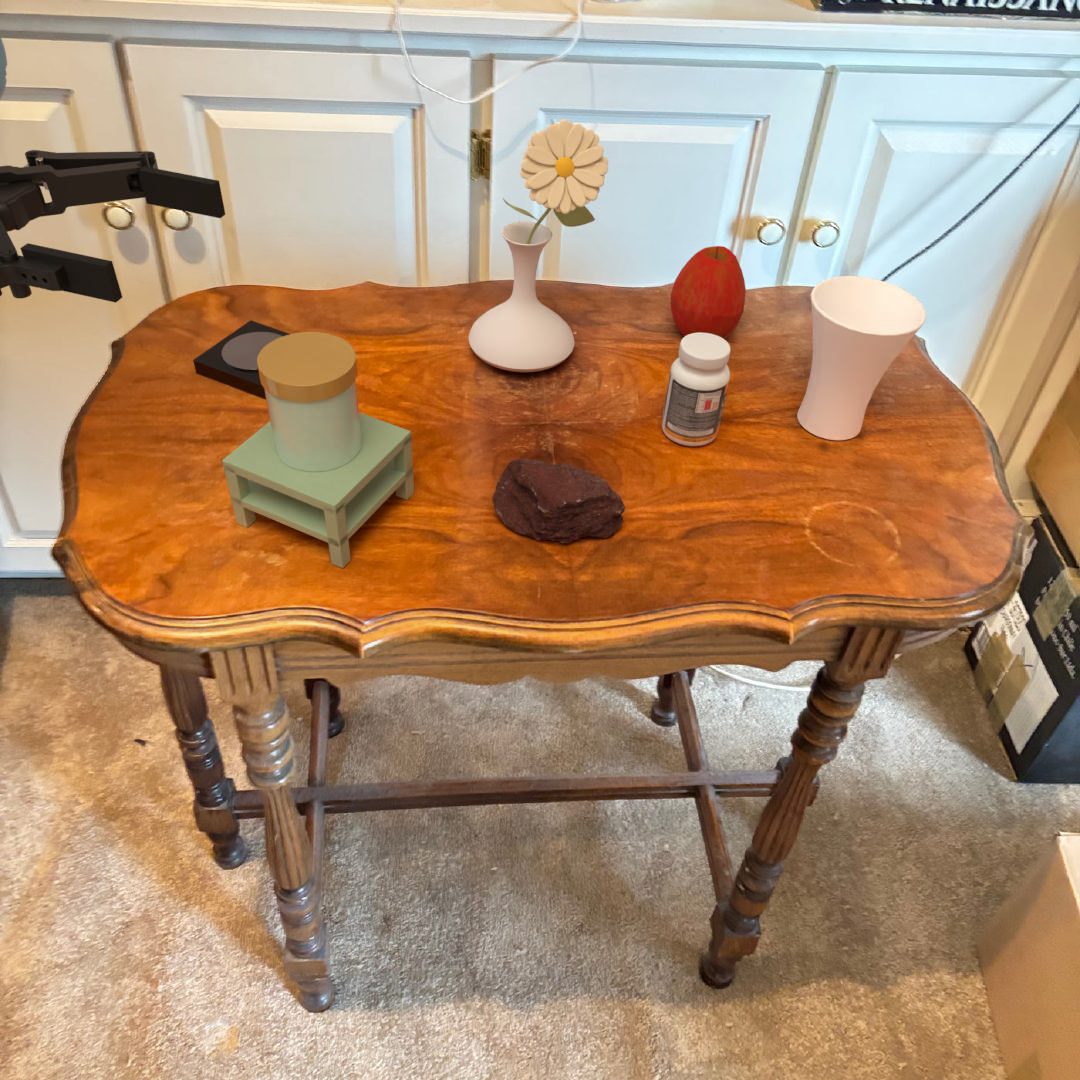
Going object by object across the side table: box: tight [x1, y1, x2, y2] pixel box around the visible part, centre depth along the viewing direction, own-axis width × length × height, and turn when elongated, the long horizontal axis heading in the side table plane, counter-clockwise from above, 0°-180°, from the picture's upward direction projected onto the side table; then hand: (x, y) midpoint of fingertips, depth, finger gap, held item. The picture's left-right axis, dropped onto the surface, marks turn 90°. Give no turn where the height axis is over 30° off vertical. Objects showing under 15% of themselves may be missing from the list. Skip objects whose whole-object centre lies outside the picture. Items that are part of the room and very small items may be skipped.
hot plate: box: [192, 319, 291, 400], centre depth 97 cm, size 9×9×2 cm
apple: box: [670, 245, 747, 340], centre depth 103 cm, size 8×8×11 cm
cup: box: [796, 275, 927, 441], centre depth 91 cm, size 10×10×14 cm
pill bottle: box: [661, 333, 732, 447], centre depth 90 cm, size 6×6×10 cm
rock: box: [492, 458, 626, 544], centre depth 82 cm, size 11×6×8 cm
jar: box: [257, 331, 362, 472], centre depth 75 cm, size 7×7×8 cm
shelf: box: [221, 411, 415, 569], centre depth 80 cm, size 11×11×7 cm
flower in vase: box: [468, 118, 609, 373], centre depth 93 cm, size 13×11×25 cm
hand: (171, 238), depth 68 cm, fingers open, 13 cm apart
